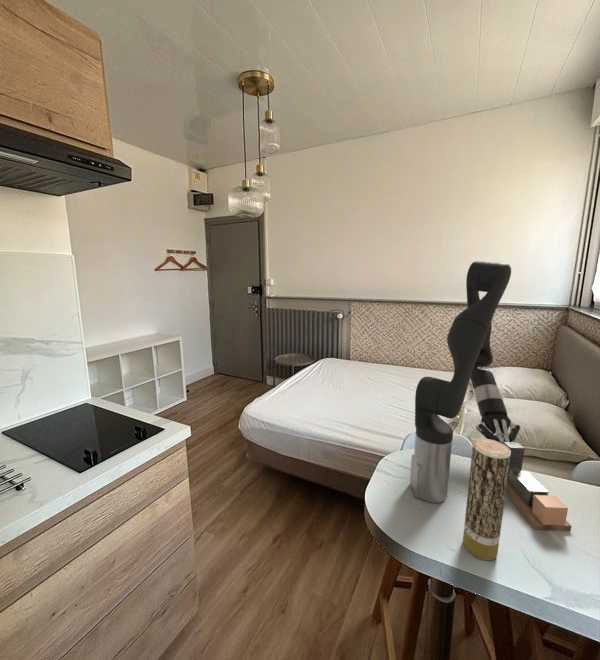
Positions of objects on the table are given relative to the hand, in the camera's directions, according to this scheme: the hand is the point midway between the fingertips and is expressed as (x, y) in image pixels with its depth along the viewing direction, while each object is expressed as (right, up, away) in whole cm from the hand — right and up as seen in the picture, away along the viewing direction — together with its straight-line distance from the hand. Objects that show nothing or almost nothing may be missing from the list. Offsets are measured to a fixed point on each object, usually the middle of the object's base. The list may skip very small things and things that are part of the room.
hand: (507, 456), depth 92 cm
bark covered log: (-21, -12, -23) cm, 33 cm away
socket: (-1, -9, -16) cm, 18 cm away
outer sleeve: (0, -7, -8) cm, 11 cm away
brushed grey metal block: (0, -6, -8) cm, 10 cm away
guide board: (0, -9, -8) cm, 12 cm away
